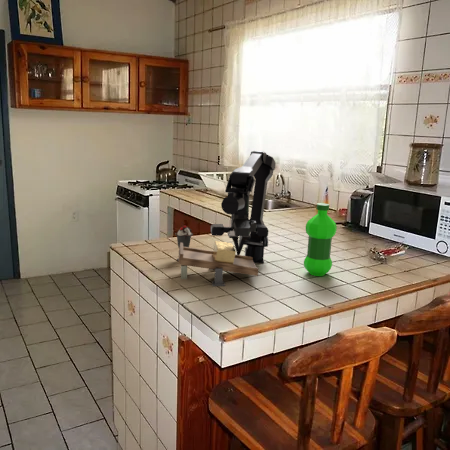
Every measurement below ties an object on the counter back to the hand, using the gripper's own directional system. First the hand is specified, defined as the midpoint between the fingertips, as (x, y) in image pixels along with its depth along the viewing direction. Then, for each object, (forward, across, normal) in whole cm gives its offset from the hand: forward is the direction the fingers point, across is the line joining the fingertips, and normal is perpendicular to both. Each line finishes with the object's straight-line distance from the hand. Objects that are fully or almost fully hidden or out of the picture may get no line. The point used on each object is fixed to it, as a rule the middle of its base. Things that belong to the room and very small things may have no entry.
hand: (238, 254), depth 154 cm
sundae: (+8, -18, +18) cm, 27 cm away
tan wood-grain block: (+2, -5, 0) cm, 6 cm away
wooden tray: (+3, -7, 0) cm, 8 cm away
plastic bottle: (+8, +29, +3) cm, 30 cm away
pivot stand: (+8, -12, 0) cm, 14 cm away
